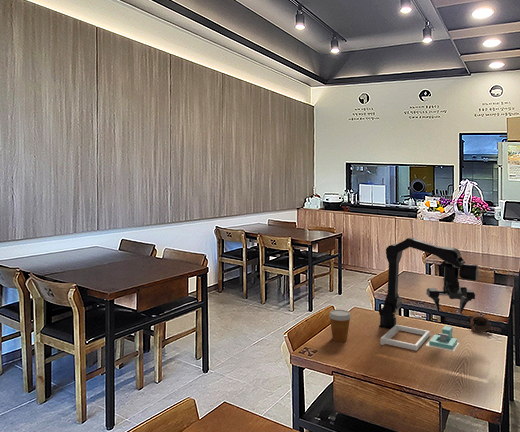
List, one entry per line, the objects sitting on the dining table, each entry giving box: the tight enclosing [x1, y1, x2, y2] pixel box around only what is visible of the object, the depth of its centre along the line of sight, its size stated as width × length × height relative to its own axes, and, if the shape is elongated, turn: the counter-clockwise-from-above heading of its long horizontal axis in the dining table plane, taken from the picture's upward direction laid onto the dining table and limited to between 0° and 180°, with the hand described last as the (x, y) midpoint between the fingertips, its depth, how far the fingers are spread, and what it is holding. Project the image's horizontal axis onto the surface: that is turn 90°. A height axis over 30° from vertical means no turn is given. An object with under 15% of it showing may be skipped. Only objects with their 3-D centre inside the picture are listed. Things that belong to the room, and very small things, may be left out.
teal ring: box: [428, 325, 458, 349], centre depth 186 cm, size 9×14×4 cm, turn 145°
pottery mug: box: [466, 315, 492, 333], centre depth 201 cm, size 12×10×8 cm
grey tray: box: [380, 324, 431, 352], centre depth 189 cm, size 15×20×3 cm
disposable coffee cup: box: [328, 309, 352, 343], centre depth 192 cm, size 10×10×12 cm
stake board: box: [425, 332, 460, 353], centre depth 183 cm, size 11×11×5 cm
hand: (449, 312), depth 189 cm, fingers open, 9 cm apart
